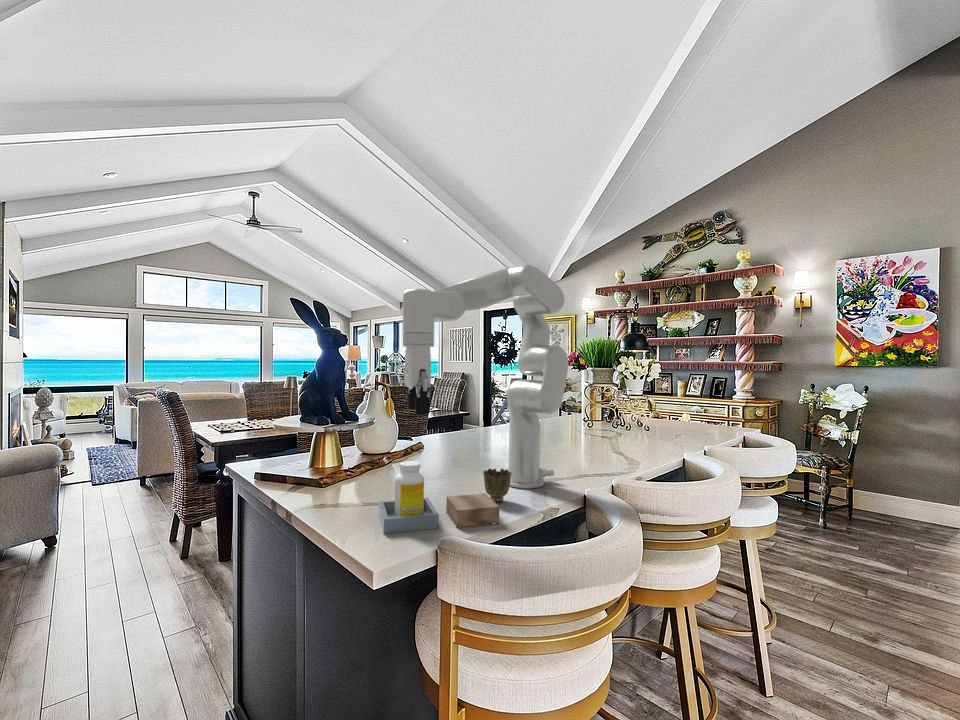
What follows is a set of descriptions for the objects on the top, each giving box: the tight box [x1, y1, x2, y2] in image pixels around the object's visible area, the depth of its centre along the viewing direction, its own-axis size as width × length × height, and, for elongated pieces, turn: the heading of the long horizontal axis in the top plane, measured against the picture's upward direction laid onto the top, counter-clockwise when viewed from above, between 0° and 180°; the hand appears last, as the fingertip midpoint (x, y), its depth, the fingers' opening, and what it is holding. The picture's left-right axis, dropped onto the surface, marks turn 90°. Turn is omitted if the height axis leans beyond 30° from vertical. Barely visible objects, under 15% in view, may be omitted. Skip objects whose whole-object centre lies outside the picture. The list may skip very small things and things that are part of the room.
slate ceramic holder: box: [378, 497, 440, 535], centre depth 102 cm, size 12×12×3 cm
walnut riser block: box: [445, 493, 500, 528], centre depth 105 cm, size 10×10×4 cm
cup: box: [483, 468, 511, 504], centre depth 118 cm, size 8×7×8 cm
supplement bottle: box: [394, 460, 425, 517], centre depth 102 cm, size 7×7×13 cm
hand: (418, 411), depth 107 cm, fingers open, 9 cm apart
